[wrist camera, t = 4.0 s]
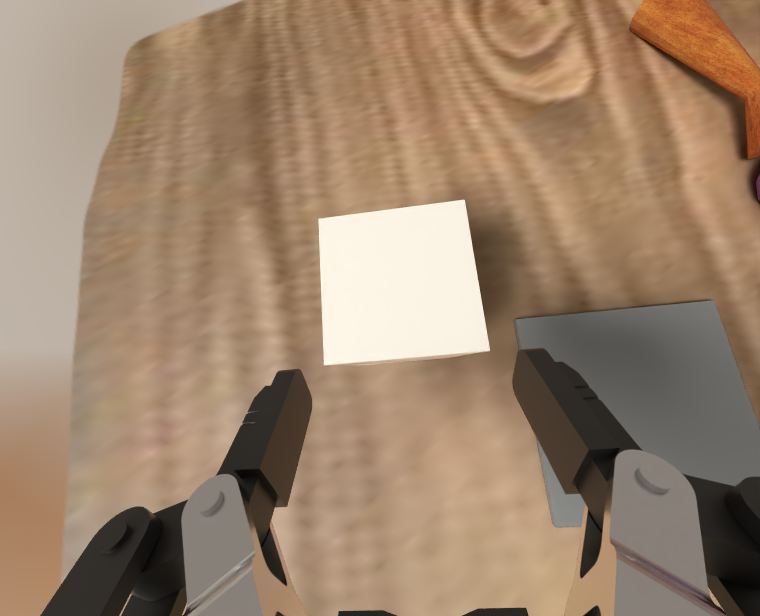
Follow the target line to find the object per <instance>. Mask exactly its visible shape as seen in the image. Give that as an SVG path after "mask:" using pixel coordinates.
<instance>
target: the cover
mask: <svg viewBox="0 0 760 616" xmlns="http://www.w3.org/2000/svg"><path fill="white" fill-rule="evenodd" d="M319 242H320V269H321V295H322V322H323V348H324V365H372V364H383V363H395V362H406V361H418V360H430V359H441V358H450V357H456V356H462V355H468V354H474V353H480V352H486V351H490V348H489V342H488V336H487V330H486V324H485V318H484V312H483V306H482V300H481V294H480V288H479V282H478V276H477V270H476V265H475V259H474V253H473V247H472V241H471V235H470V229H469V223H468V217H467V211H466V205H465V200H459V201H451V202H443V203H436V204H428V205H421V206H413V207H405V208H398V209H390V210H383V211H375V212H367V213H360V214H352V215H345V216H337V217H329V218H322V219H319Z"/></svg>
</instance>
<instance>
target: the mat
mask: <svg viewBox="0 0 760 616" xmlns="http://www.w3.org/2000/svg"><path fill="white" fill-rule="evenodd" d="M514 325H515V330H516V335H517V341H518V346H519V350H523V349H535V348H544V349H545V350H547V352H548V353H549V354H550V356H551V357H552V358H553V360H554V361H555V362H562V361H563V362H564V363H565V364H567V365H568V366H570V367H571V368H573V369H574V370H576V371H577V372H578V373H579V374H580V375H581V376H582V378H583V379H584V380H585V381H586V382H587V384H588V385H589V388H591V389H592V390H593V391H594V392H595V393H596V395H597V396H598V399H599V400H601V401H602V402H603V403H604V404H605V406H606V407H607V408H608V409H609V411H610V412H611V413H612V414H613V415H614V417H615V418H616V419H617V420H618V422H619V423H620V424H621V425H622V426H623V428H624V429H625V430H626V431H627V432H628V434H629V435H630V436H631V437H632V439H633V440H634V441H635V442H636V443H637V445H638V446H639V447H640V448H641V449H642V450H643V451H645V452H648V453H651V454H653V455H656V456H658V457H660V458H662V459H663V460H665V461H667V462H668V463H670V464H671V465H672V466H674V467H675V468H676V469H677V470H679V471H680V472H681V473H682V474H686V475H689V476H693V477H697V478H702V479H706V480H710V481H715V482H719V483H723V484H728V485H732V486H736V485H737V484H739V483H740V482H741V481H742V480H744V479H745V478H748V477H754V476H757V477H760V427H759V424H758V422H757V419H756V416H755V413H754V411H753V408H752V405H751V402H750V399H749V397H748V394H747V391H746V388H745V385H744V383H743V380H742V377H741V374H740V371H739V369H738V366H737V363H736V360H735V358H734V355H733V352H732V349H731V346H730V344H729V341H728V338H727V335H726V332H725V330H724V327H723V324H722V321H721V319H720V316H719V313H718V310H717V307H716V305H715V302H714V300H712V301H702V302H691V303H681V304H670V305H660V306H649V307H639V308H628V309H618V310H607V311H597V312H586V313H576V314H565V315H555V316H545V317H534V318H524V319H515V320H514ZM536 440H537V445H538V450H539V455H540V461H541V466H542V471H543V476H544V482H545V487H546V492H547V497H548V502H549V508H550V513H551V518H552V523H553V525H554V526H555V527H556V528H562V527H582V521H583V514H584V508H585V506H586V504H585V502H584V500H583V498H582V496H581V495H580V494H565V492H564V490H563V488H562V486H561V484H560V483H559V481H558V479H557V477H556V475H555V473H554V471H553V469H552V467H551V465H550V463H549V461H548V459H547V457H546V455H545V453H544V451H543V449H542V447H541V445H540V443H539V441H538V439H537V437H536Z"/></svg>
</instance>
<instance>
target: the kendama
mask: <svg viewBox="0 0 760 616" xmlns="http://www.w3.org/2000/svg"><path fill="white" fill-rule="evenodd" d="M630 29H631V32H633V33H634V34H636V35H638V36H639V37H641V38H643V39H644V40H646V41H648V42H649V43H651V44H653V45H654V46H656V47H657V48H659V49H661V50H662V51H664V52H666V53H667V54H669V55H671V56H672V57H674V58H676V59H677V60H679V61H681V62H682V63H684V64H686V65H687V66H689V67H690V68H692V69H694V70H695V71H697V72H699V73H700V74H702V75H704V76H705V77H707V78H709V79H710V80H712V81H714V82H715V83H717V84H718V85H720V86H722V87H723V88H725V89H727V90H728V91H730V92H732V93H733V94H735V95H737V96H738V97H740V98H742V99H743V100H745V115H746V134H747V153H748V159H754V158H757V157H759V156H760V68H759V67H758V66H757V64H756V63H755V62H754V61H753V59H752V58H751V57H750V55H749V54H748V53H747V52H746V50H745V49H744V48H743V46H742V45H741V44H740V43H739V41H738V40H737V39H736V37H735V36H734V35H733V34H732V32H731V31H730V30H729V28H728V27H727V26H726V25H725V23H724V22H723V21H722V19H721V18H720V17H719V16H718V14H717V13H716V12H715V10H714V9H713V8H712V7H711V5H710V4H709V3H708V1H707V0H644V1H643V3H642V4H641V5H640V6H639V8H638V10H637V11H636V13H635V15H634V17H633V19H632V22H631V25H630ZM756 187H757V196H758V200H759V201H760V175H759V177H758V178H757V180H756Z"/></svg>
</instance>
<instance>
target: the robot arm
mask: <svg viewBox="0 0 760 616" xmlns="http://www.w3.org/2000/svg"><path fill="white" fill-rule="evenodd" d="M513 389H514V393H515V396H516V398H517V400H518V402H519V404H520V406H521V408H522V410H523V412H524V413H525V415H526V417H527V419H528V421H529V423H530V425H531V427H532V429H533V431H534V433H535V435H536V437H537V439H538V441H539V443H540V445H541V447H542V449H543V451H544V453H545V455H546V457H547V459H548V461H549V463H550V465H551V467H552V469H553V471H554V473H555V475H556V477H557V479H558V481H559V483H560V484H561V486H562V488H563V490H564V492H565V494H580V495H581V496H582V498H583V500H584V502H585V504H586V506H585V508H584V514H583V521H582V528H581V535H580V542H579V549H578V556H577V563H576V570H575V576H574V581H573V585H572V588H571V591H570V593H569V596H568V600H567V604H566V608H565V614H564V616H760V477H757V476H754V477H748V478H745V479H744V480H742V481H741V482H740V483H739V484H737V485H736V486H732V485H728V484H723V483H719V482H715V481H710V480H706V479H702V478H697V477H693V476H689V475H686V474H682V473H681V472H680V471H679V470H677V469H676V468H675V467H674V466H672V465H671V464H670V463H668V462H667V461H665V460H663V459H662V458H660V457H658V456H656V455H653V454H651V453H648V452H645V451H643V450H642V449H641V448H640V447H639V446H638V445H637V443H636V442H635V441H634V440H633V439H632V437H631V436H630V435H629V434H628V432H627V431H626V430H625V429H624V428H623V426H622V425H621V424H620V423H619V422H618V420H617V419H616V418H615V417H614V415H613V414H612V413H611V412H610V411H609V409H608V408H607V407H606V406H605V404H604V403H603V402H602V401H601V400H599V399H598V396H597V395H596V393H595V392H594V391H593V390H592V389H591V388H589V385H588V384H587V382H586V381H585V380H584V379H583V378H582V376H581V375H580V374H579V373H578V372H577V371H576V370H574V369H573V368H571V367H570V366H568V365H567V364H565V363H564V362H563V361H562V362H555V361H554V360H553V358H552V357H551V356H550V354H549V353H548V352H547V350H545V349H544V348H535V349H523V350H519V351H518V354H517V359H516V364H515V369H514V375H513ZM311 411H312V397H311V394H310V391H309V389H308V386H307V384H306V381H305V379H304V376H303V374H302V372H301V370H300V369H293V370H282V371H278V372H277V374H276V376H275V378H274V380H273V383H272V385H271V386H265V387H264V388H263V389H262V390H261V391H260V392H259V394H258V395H257V396H256V397H255V398H254V400H253V402H252V404H251V406H250V408H249V410H248V414H246V416H245V418H244V420H243V422H242V423H243V425H241V427H240V429H239V431H238V433H237V435H236V437H235V439H234V441H233V443H232V445H231V447H230V449H229V451H228V453H227V455H226V458H225V460H224V462H223V464H222V466H221V468H220V470H219V471H218V473H217V475H216V476H214V477H212V478H210V479H208V480H207V481H205V482H204V483H203V484H202V485H200V486H199V487H198V488H197V489H196V490H195V491H194V493H193V494H192V495H191V496H190V498H189V499H188V500H186V501H183V502H181V503H178V504H176V505H173V506H171V507H168V508H166V509H163V510H161V511H158V512H156V513H151V512H150V511H149V510H147V509H146V508H144V507H132V508H130V509H127V510H125V511H123V512H121V513H119V514H118V515H116V516H115V517H114V518H112V519H111V520H110V521H109V522H107V523H106V524H105V525H104V526H103V527H102V528H101V529H100V530H99V531H98V532H97V534H96V535H95V536H94V537H93V539H92V540H91V541H90V543H89V544H88V546H87V547H86V549H85V550H84V552H83V553H82V555H81V556H80V558H79V559H78V561H77V562H76V563H75V565H74V566H73V568H72V569H71V571H70V572H69V574H68V575H67V577H66V578H65V580H64V581H63V583H62V584H61V586H60V587H59V589H58V590H57V592H56V593H55V595H54V596H53V598H52V599H51V601H50V602H49V604H48V605H47V606H46V608H45V609H44V611H43V613H42V614H41V616H119V615H120V613H121V611H122V609H123V607H124V605H125V603H126V601H127V599H128V597H129V595H130V594H132V595H131V597H130V599H129V601H128V603H127V605H126V607H125V609H124V611H123V613H122V615H121V616H182V614H183V611H184V608H185V606H186V603H187V609H186V612H185V614H184V615H183V616H307V615H306V612H305V610H304V607H303V605H302V603H301V601H300V599H299V597H298V595H297V594H296V592H295V590H294V587H293V585H292V582H291V579H290V576H289V573H288V570H287V567H286V564H285V561H284V558H283V555H282V552H281V549H280V545H279V542H278V539H277V536H276V533H275V530H274V527H273V524H272V522H271V519H272V515H273V512H274V508H275V507H287V505H288V501H289V497H290V493H291V489H292V485H293V482H294V478H295V474H296V470H297V466H298V462H299V458H300V454H301V450H302V446H303V442H304V439H305V435H306V431H307V427H308V423H309V419H310V415H311ZM708 587H709V589H710V590H711V592H712V593H713V595H714V596H715V598H716V599H717V601H718V602H719V604H720V605H721V607H722V608H723V610H724V611H725V612H724V611H723V610H722V609H721V608H720V607H718V606H716V605H715V604H714V603H713V601H712V599H711V597H710V595H709V591H708ZM338 616H396V615H394V614H391V613H388V612H386V611H383V610H377V611H339V614H338ZM463 616H528V613H527V609H526V608H487V609H476V610H474V611H472V612H469V613H467V614H465V615H463Z"/></svg>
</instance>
